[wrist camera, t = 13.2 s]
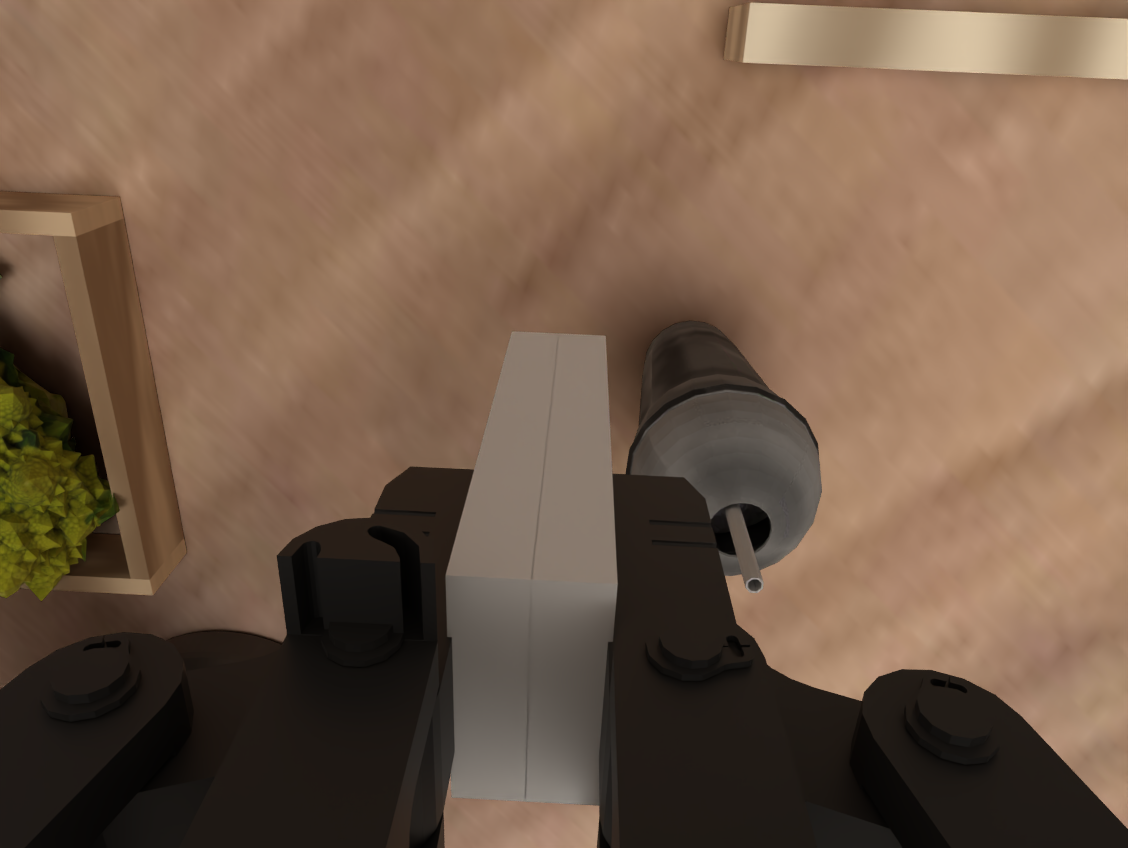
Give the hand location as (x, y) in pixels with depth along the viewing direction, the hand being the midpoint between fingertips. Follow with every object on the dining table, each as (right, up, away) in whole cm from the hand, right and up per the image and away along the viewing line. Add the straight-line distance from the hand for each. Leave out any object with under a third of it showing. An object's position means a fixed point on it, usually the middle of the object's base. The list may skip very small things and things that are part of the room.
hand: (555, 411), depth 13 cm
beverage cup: (+6, +3, +28) cm, 29 cm away
